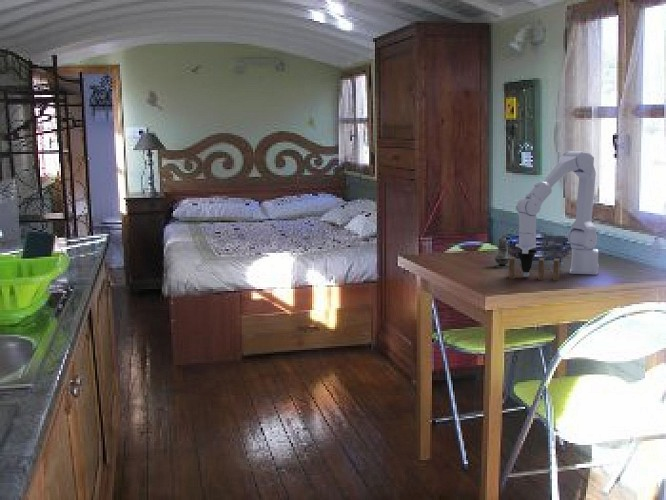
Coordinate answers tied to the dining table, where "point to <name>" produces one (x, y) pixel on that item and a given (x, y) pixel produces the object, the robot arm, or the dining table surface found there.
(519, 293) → the dining table surface
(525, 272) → the domino
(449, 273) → the dining table surface
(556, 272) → the domino
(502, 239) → the salt shaker
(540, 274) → the domino
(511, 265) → the domino
